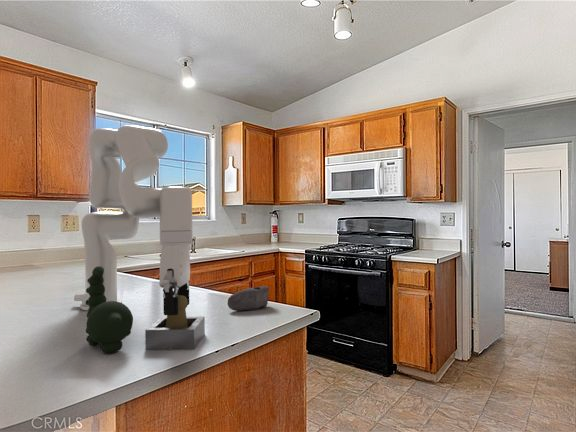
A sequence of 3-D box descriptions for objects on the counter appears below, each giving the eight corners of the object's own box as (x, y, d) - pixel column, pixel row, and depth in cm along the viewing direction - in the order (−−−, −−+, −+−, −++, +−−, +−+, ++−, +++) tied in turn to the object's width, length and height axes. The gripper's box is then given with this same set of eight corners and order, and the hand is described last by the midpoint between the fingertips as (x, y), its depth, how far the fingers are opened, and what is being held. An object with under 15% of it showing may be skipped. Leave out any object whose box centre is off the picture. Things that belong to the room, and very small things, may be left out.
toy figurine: (75, 343, 96) (94, 365, 76) (74, 267, 97) (91, 269, 77) (115, 335, 102) (142, 354, 82) (113, 264, 103) (139, 265, 83)
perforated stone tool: (230, 314, 117) (230, 291, 117) (224, 310, 122) (224, 288, 122) (274, 308, 124) (274, 287, 124) (267, 305, 129) (267, 284, 129)
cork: (193, 337, 94) (193, 293, 94) (184, 346, 88) (184, 298, 88) (169, 337, 95) (169, 293, 95) (159, 345, 89) (158, 298, 89)
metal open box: (145, 349, 86) (145, 329, 86) (161, 334, 97) (161, 316, 97) (194, 349, 86) (194, 329, 86) (204, 334, 97) (204, 316, 97)
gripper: (171, 236, 100) (172, 302, 100) (147, 240, 83) (148, 319, 83) (200, 236, 100) (200, 301, 100) (182, 240, 83) (183, 319, 83)
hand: (177, 309), depth 91 cm, fingers open, 9 cm apart
